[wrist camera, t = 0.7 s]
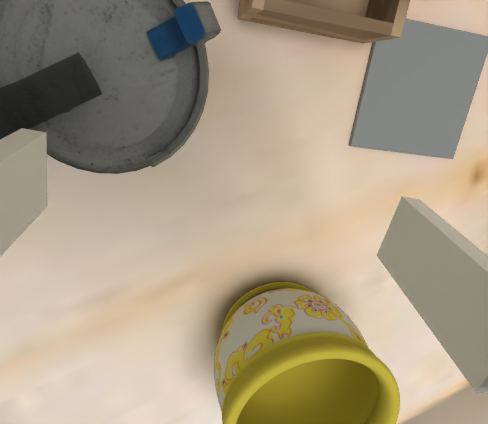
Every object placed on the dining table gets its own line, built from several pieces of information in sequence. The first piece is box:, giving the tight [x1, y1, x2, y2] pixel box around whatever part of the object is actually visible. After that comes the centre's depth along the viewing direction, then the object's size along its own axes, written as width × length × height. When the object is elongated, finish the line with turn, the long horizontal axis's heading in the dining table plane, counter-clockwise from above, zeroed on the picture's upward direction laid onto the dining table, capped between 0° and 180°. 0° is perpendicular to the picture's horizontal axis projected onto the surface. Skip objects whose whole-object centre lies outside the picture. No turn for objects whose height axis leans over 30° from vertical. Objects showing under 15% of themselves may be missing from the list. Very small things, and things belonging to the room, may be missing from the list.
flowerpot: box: [214, 282, 400, 424], centre depth 44 cm, size 18×18×16 cm
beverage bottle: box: [0, 0, 221, 174], centre depth 26 cm, size 10×13×25 cm
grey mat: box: [349, 19, 488, 159], centre depth 43 cm, size 14×14×1 cm
